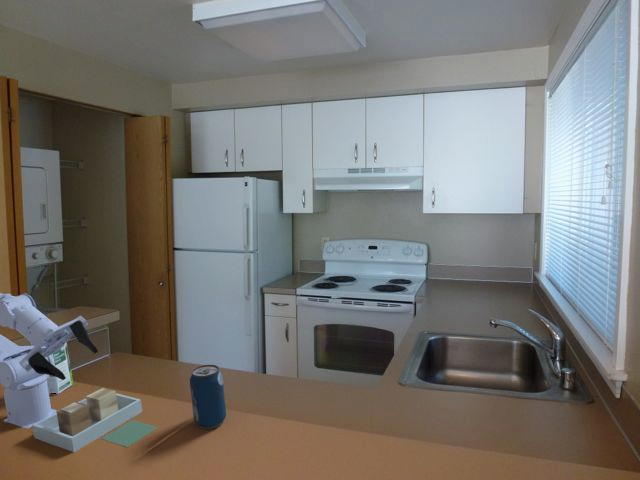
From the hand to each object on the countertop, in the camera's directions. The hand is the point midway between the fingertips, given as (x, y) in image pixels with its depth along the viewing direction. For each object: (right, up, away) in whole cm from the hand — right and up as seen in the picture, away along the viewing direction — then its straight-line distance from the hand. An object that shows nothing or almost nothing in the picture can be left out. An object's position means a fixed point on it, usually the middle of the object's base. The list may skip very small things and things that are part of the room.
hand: (79, 363), depth 101 cm
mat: (+9, -16, +3) cm, 19 cm away
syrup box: (-20, -14, +28) cm, 37 cm away
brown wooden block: (-3, -16, +4) cm, 17 cm away
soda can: (+26, -15, +6) cm, 30 cm away
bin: (-1, -16, +8) cm, 18 cm away
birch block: (0, -15, +10) cm, 18 cm away
